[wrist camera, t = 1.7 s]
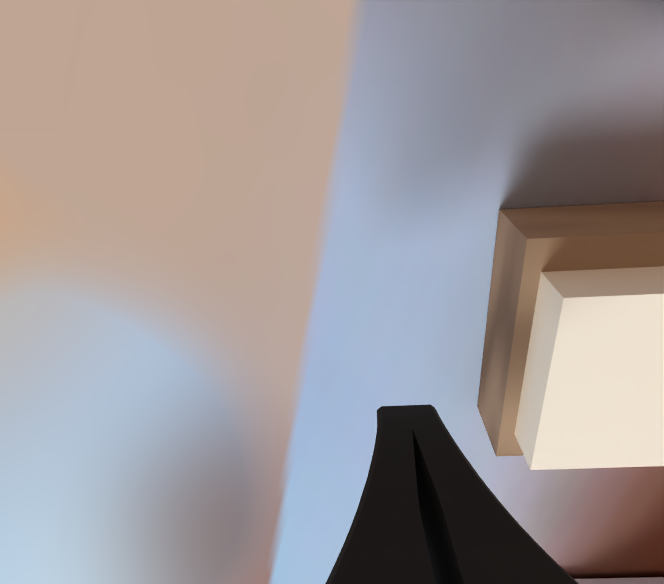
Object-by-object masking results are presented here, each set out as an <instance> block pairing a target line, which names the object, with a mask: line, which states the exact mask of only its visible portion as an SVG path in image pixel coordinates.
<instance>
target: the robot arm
mask: <svg viewBox="0 0 664 584" xmlns="http://www.w3.org/2000/svg"><path fill="white" fill-rule="evenodd" d="M326 584H664V577H640V578H592V579H573V578H572V577H571V576H570V575H569V574H568V573H567V572H566V571H565V570H564V569H562V568H561V567H560V566H559V565H558V564H557V563H556V562H555V561H554V560H553V559H552V558H551V557H550V556H549V555H548V554H547V553H546V552H545V551H544V550H543V549H542V548H541V547H540V546H539V545H538V544H537V543H536V542H535V541H534V540H533V539H532V538H531V536H530V535H529V534H528V533H527V532H526V531H525V530H524V529H523V528H522V527H521V526H520V525H519V524H518V522H517V521H516V520H515V519H514V518H513V517H512V516H511V515H510V513H509V512H508V511H507V510H506V509H505V508H504V506H503V505H502V504H501V503H500V502H499V500H498V499H497V498H496V497H495V495H494V494H493V493H492V492H491V491H490V489H489V488H488V487H487V486H486V484H485V483H484V482H483V480H482V479H481V478H480V477H479V475H478V474H477V472H476V471H475V470H474V468H473V467H472V466H471V464H470V463H469V461H468V460H467V459H466V457H465V456H464V455H463V453H462V452H461V450H460V449H459V447H458V446H457V444H456V443H455V441H454V440H453V438H452V437H451V435H450V433H449V432H448V430H447V429H446V427H445V425H444V424H443V422H442V420H441V418H440V417H439V415H438V413H437V411H436V409H435V408H434V407H433V406H432V405H409V406H382V407H380V408H379V409H378V410H377V435H376V441H375V447H374V452H373V456H372V461H371V465H370V469H369V473H368V477H367V481H366V484H365V487H364V490H363V493H362V496H361V500H360V503H359V506H358V509H357V512H356V514H355V517H354V520H353V522H352V525H351V528H350V530H349V533H348V535H347V538H346V540H345V543H344V545H343V547H342V549H341V552H340V554H339V556H338V558H337V560H336V563H335V565H334V567H333V569H332V571H331V574H330V576H329V578H328V580H327V582H326Z"/></svg>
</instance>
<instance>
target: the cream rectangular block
mask: <svg viewBox="0 0 664 584" xmlns="http://www.w3.org/2000/svg"><path fill="white" fill-rule="evenodd" d="M514 434H515V437H516V439H517V441H518V443H519V446H520V448H521V450H522V452H523V455H524V457H525V459H526V461H527V463H528V466H529V468H530V470H546V469H580V468H613V467H646V466H664V266H660V267H638V268H617V269H595V270H573V271H551V272H541V274H540V280H539V286H538V292H537V298H536V305H535V311H534V317H533V323H532V329H531V335H530V341H529V348H528V354H527V360H526V366H525V372H524V378H523V384H522V390H521V397H520V403H519V409H518V415H517V421H516V427H515V433H514Z"/></svg>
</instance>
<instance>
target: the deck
mask: <svg viewBox="0 0 664 584" xmlns="http://www.w3.org/2000/svg"><path fill="white" fill-rule="evenodd" d="M660 266H664V201H654V202H635V203H615V204H596V205H576V206H557V207H537V208H517V209H499V216H498V225H497V234H496V243H495V252H494V261H493V270H492V279H491V288H490V297H489V306H488V315H487V325H486V334H485V343H484V352H483V361H482V370H481V379H480V388H479V397H478V406H477V407H478V410H479V412H480V415H481V417H482V420H483V423H484V425H485V428H486V431H487V433H488V436H489V439H490V441H491V444H492V447H493V449H494V452H495V454H496V456H519V455H523V452H522V450H521V448H520V446H519V443H518V441H517V439H516V437H515V434H514V433H515V427H516V421H517V415H518V409H519V403H520V397H521V390H522V384H523V378H524V372H525V366H526V360H527V354H528V348H529V341H530V335H531V329H532V323H533V317H534V311H535V305H536V298H537V292H538V286H539V280H540V274H541V272H551V271H573V270H595V269H617V268H638V267H660Z"/></svg>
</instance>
